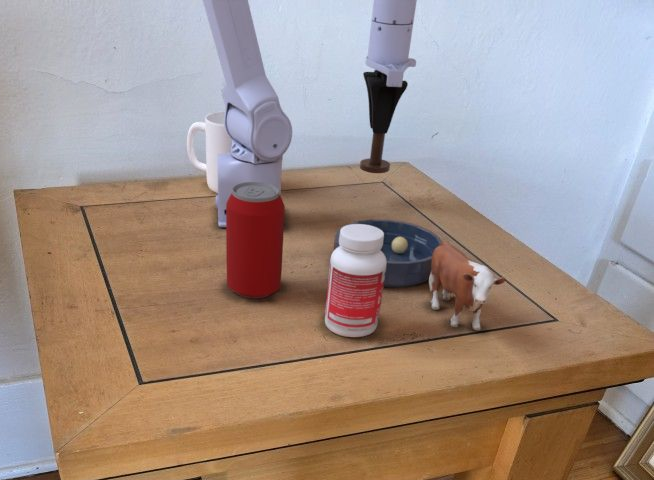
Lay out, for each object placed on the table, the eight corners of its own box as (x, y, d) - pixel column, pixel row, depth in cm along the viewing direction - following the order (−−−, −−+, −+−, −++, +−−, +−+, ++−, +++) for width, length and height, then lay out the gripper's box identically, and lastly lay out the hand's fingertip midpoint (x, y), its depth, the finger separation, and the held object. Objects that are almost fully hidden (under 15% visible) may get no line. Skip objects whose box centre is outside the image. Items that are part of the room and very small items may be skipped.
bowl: (339, 289, 88) (342, 262, 86) (327, 243, 98) (329, 218, 96) (449, 290, 89) (455, 264, 87) (425, 245, 99) (430, 220, 97)
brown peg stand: (356, 170, 107) (364, 98, 100) (364, 161, 110) (372, 91, 103) (385, 175, 105) (395, 103, 99) (392, 166, 109) (402, 95, 102)
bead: (401, 232, 95) (411, 237, 94) (401, 248, 96) (410, 253, 95) (388, 237, 94) (398, 242, 93) (388, 252, 96) (397, 258, 94)
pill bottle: (383, 337, 79) (399, 242, 72) (332, 341, 78) (343, 245, 71) (366, 311, 84) (379, 219, 76) (318, 315, 83) (326, 221, 75)
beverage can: (289, 284, 88) (295, 186, 80) (266, 306, 84) (269, 205, 75) (241, 272, 90) (242, 175, 82) (216, 293, 86) (215, 193, 77)
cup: (246, 199, 109) (247, 128, 102) (177, 187, 112) (173, 117, 105) (265, 183, 115) (267, 115, 108) (199, 171, 118) (197, 105, 111)
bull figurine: (461, 349, 78) (478, 280, 73) (417, 294, 88) (429, 229, 82) (496, 345, 79) (516, 278, 74) (449, 292, 89) (464, 228, 83)
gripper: (432, 32, 90) (414, 146, 99) (411, 13, 100) (396, 117, 109) (378, 30, 89) (365, 144, 98) (362, 11, 100) (352, 116, 109)
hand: (378, 130), depth 104 cm, fingers closed on brown peg stand
